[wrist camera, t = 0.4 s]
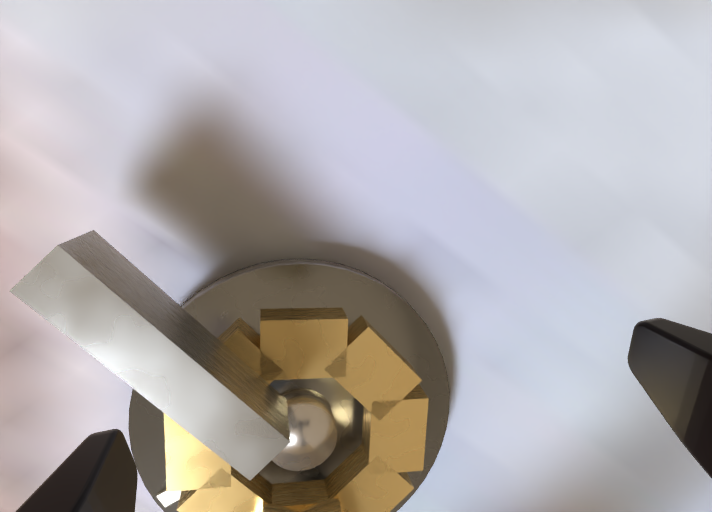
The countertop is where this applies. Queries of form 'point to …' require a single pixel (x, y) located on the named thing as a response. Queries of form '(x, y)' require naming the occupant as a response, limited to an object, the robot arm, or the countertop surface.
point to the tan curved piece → (236, 384)
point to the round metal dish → (305, 396)
